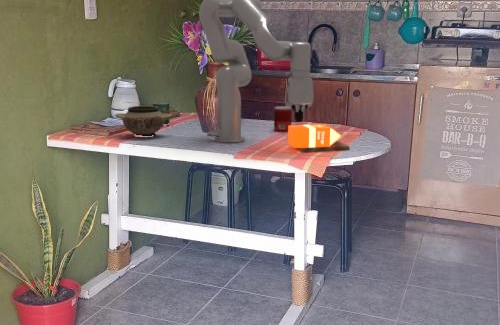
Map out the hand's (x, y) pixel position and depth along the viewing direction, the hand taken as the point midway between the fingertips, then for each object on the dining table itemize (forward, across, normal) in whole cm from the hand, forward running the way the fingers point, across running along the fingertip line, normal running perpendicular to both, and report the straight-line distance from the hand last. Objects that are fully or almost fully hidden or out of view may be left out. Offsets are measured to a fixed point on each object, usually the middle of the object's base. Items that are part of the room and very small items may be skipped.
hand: (298, 121), depth 235 cm
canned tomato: (+11, -45, +68) cm, 83 cm away
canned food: (+11, +8, +42) cm, 44 cm away
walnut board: (+11, +10, +2) cm, 15 cm away
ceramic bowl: (+11, -56, +41) cm, 70 cm away
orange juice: (+6, -3, 0) cm, 7 cm away
